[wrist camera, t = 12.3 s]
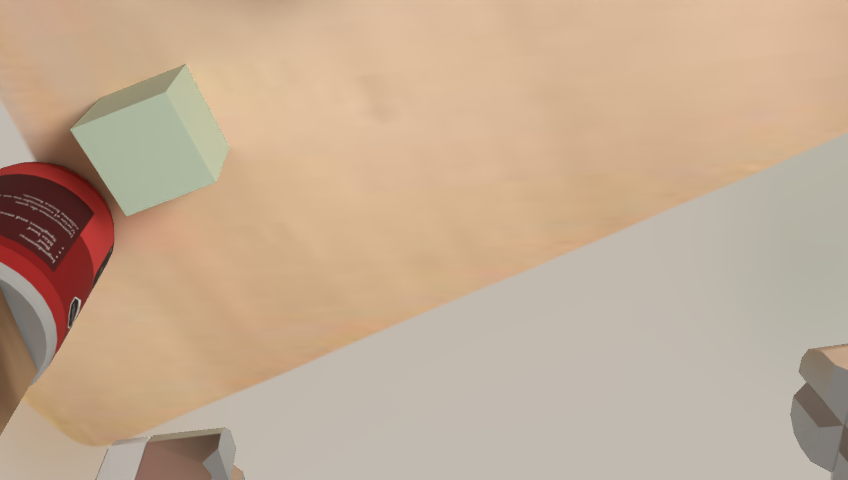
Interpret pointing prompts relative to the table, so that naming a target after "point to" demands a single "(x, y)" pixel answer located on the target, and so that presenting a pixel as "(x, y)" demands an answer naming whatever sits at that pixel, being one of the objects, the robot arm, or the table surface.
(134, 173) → the sage block
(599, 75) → the table surface
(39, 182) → the canned food
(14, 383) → the walnut cube
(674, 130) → the table surface
